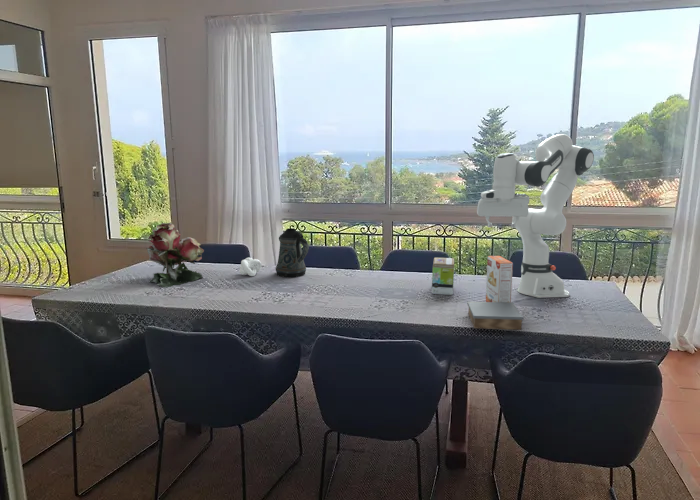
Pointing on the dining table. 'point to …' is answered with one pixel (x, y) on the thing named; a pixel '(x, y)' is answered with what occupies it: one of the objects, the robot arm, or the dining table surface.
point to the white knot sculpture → (250, 266)
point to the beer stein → (291, 254)
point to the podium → (495, 315)
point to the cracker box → (499, 279)
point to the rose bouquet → (173, 256)
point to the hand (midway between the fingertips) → (501, 227)
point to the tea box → (443, 276)
